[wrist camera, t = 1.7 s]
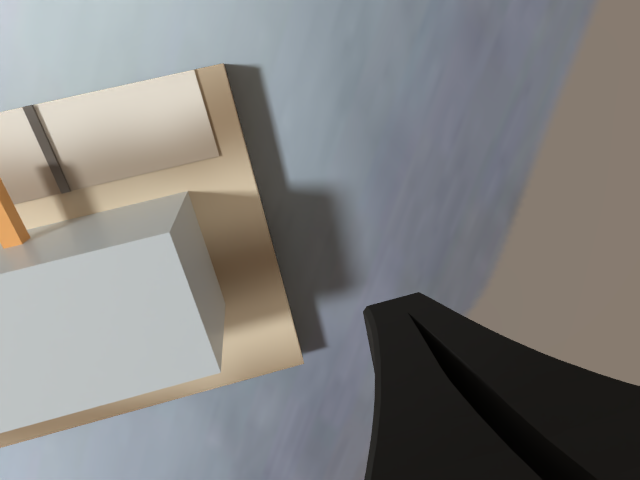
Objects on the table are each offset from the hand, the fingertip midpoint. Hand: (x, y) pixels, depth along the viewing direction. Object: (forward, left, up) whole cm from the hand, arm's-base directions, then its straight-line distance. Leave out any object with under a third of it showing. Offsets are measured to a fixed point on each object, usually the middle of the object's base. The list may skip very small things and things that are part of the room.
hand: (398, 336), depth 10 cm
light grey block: (+1, +11, -8) cm, 14 cm away
